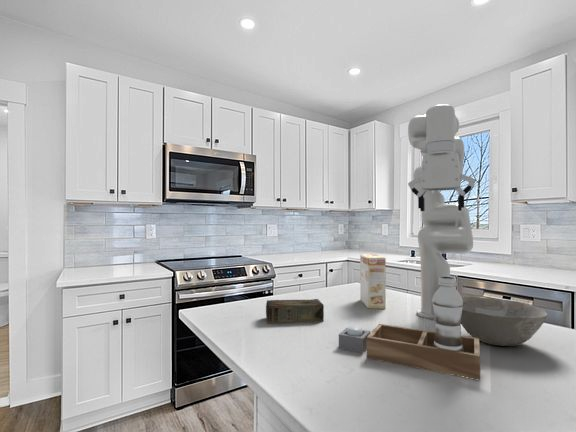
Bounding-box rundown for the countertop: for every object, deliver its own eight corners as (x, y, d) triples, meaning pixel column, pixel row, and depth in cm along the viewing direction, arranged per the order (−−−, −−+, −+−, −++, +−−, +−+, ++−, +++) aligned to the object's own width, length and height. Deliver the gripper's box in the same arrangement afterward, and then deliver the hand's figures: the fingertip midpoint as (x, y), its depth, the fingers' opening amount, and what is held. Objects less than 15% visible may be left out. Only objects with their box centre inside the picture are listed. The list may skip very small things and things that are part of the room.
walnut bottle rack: (379, 341, 93) (379, 323, 93) (479, 359, 81) (478, 338, 81) (366, 357, 82) (366, 337, 82) (480, 380, 70) (479, 356, 70)
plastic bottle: (468, 370, 75) (468, 280, 75) (436, 367, 76) (435, 279, 77) (459, 358, 81) (459, 275, 82) (429, 356, 83) (429, 275, 83)
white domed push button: (349, 334, 92) (349, 325, 93) (364, 336, 91) (364, 327, 91) (345, 339, 89) (345, 329, 89) (359, 341, 87) (359, 331, 87)
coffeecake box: (386, 308, 128) (386, 257, 128) (367, 308, 128) (367, 257, 128) (376, 299, 143) (376, 253, 143) (359, 299, 143) (359, 253, 143)
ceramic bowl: (553, 365, 78) (552, 322, 78) (444, 346, 90) (443, 308, 90) (542, 337, 96) (541, 302, 96) (453, 324, 109) (453, 293, 109)
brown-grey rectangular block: (324, 322, 112) (324, 302, 112) (267, 325, 109) (267, 304, 109) (319, 315, 119) (319, 297, 119) (265, 318, 117) (265, 299, 117)
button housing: (346, 340, 94) (346, 327, 94) (370, 344, 91) (370, 331, 91) (338, 347, 88) (338, 334, 89) (363, 352, 85) (363, 338, 85)
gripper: (406, 151, 96) (406, 211, 96) (475, 144, 87) (475, 209, 87) (410, 155, 102) (410, 211, 102) (475, 149, 94) (475, 210, 94)
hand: (440, 210), depth 95 cm, fingers open, 9 cm apart
